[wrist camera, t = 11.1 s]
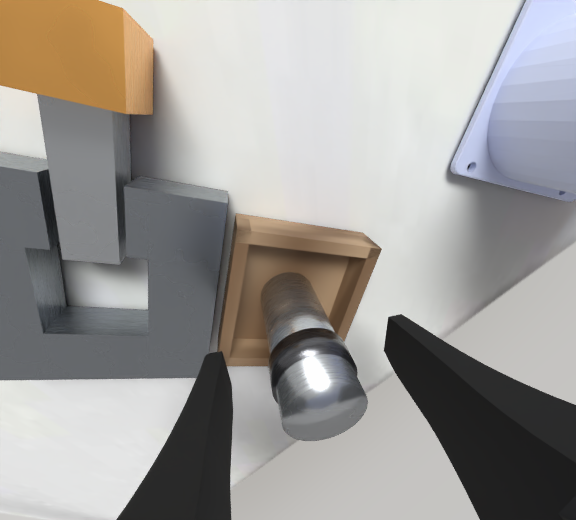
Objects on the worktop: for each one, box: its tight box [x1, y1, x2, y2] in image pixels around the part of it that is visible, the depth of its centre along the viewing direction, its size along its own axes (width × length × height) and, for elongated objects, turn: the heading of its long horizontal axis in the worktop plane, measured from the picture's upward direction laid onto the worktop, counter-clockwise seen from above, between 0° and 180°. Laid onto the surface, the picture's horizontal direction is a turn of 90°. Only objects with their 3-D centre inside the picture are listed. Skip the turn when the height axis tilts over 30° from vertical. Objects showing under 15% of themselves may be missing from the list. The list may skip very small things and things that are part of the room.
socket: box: [0, 152, 228, 380], centre depth 12 cm, size 10×10×2 cm
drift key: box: [0, 0, 153, 265], centre depth 9 cm, size 8×4×3 cm, turn 167°
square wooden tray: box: [217, 214, 382, 366], centre depth 15 cm, size 7×8×2 cm
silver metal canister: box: [261, 272, 368, 441], centre depth 12 cm, size 3×3×7 cm
